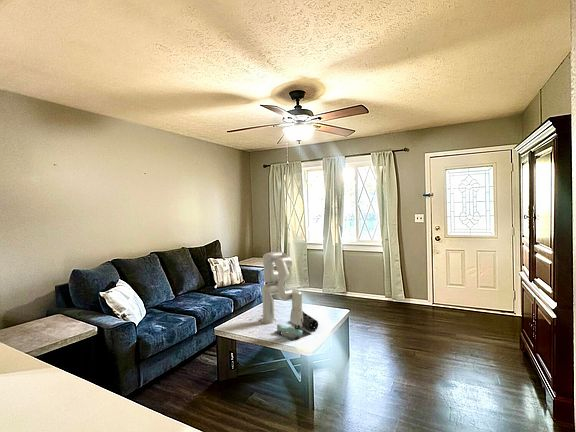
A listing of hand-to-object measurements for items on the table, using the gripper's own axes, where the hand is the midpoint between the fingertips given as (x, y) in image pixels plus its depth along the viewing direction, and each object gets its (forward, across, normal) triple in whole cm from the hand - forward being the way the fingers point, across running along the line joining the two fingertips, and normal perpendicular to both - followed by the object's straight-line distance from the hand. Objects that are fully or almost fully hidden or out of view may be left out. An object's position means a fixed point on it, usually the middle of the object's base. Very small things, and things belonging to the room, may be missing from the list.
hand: (297, 332), depth 234 cm
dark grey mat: (+3, -5, 0) cm, 5 cm away
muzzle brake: (+3, -11, +18) cm, 21 cm away
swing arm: (+1, -3, -5) cm, 6 cm away
